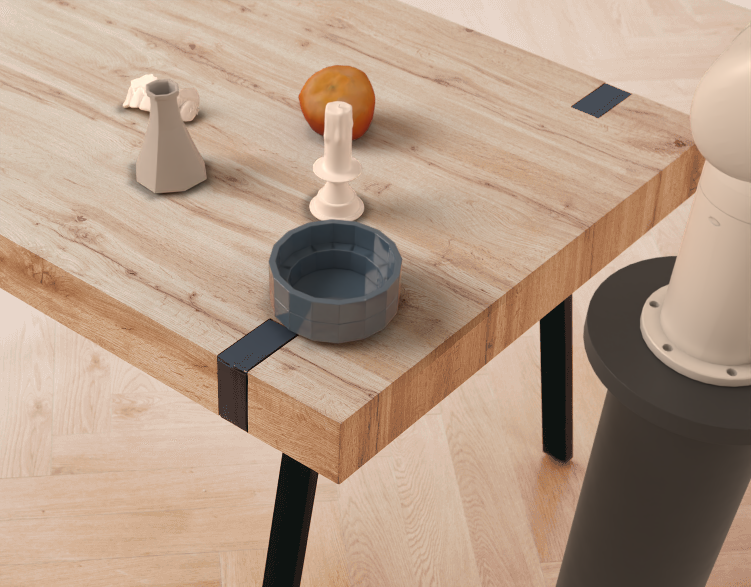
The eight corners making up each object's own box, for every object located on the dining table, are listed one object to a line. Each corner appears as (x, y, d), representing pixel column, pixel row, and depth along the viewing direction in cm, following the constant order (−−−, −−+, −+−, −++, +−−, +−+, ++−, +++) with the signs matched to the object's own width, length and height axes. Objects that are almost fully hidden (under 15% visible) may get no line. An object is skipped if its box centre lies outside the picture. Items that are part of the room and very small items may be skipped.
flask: (124, 164, 109) (112, 77, 103) (191, 147, 112) (183, 61, 105) (149, 203, 105) (139, 114, 98) (218, 183, 107) (212, 96, 101)
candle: (369, 221, 104) (374, 114, 96) (315, 227, 103) (315, 120, 95) (357, 189, 108) (360, 83, 100) (304, 195, 106) (304, 89, 99)
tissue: (172, 134, 114) (169, 103, 111) (118, 109, 117) (113, 78, 114) (207, 112, 117) (205, 81, 115) (153, 88, 120) (150, 58, 118)
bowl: (420, 289, 97) (424, 246, 93) (358, 365, 89) (359, 321, 86) (314, 248, 100) (314, 205, 97) (246, 317, 93) (243, 273, 90)
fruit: (396, 103, 117) (382, 64, 110) (366, 165, 115) (349, 129, 108) (332, 83, 120) (313, 43, 112) (301, 143, 118) (280, 107, 111)
